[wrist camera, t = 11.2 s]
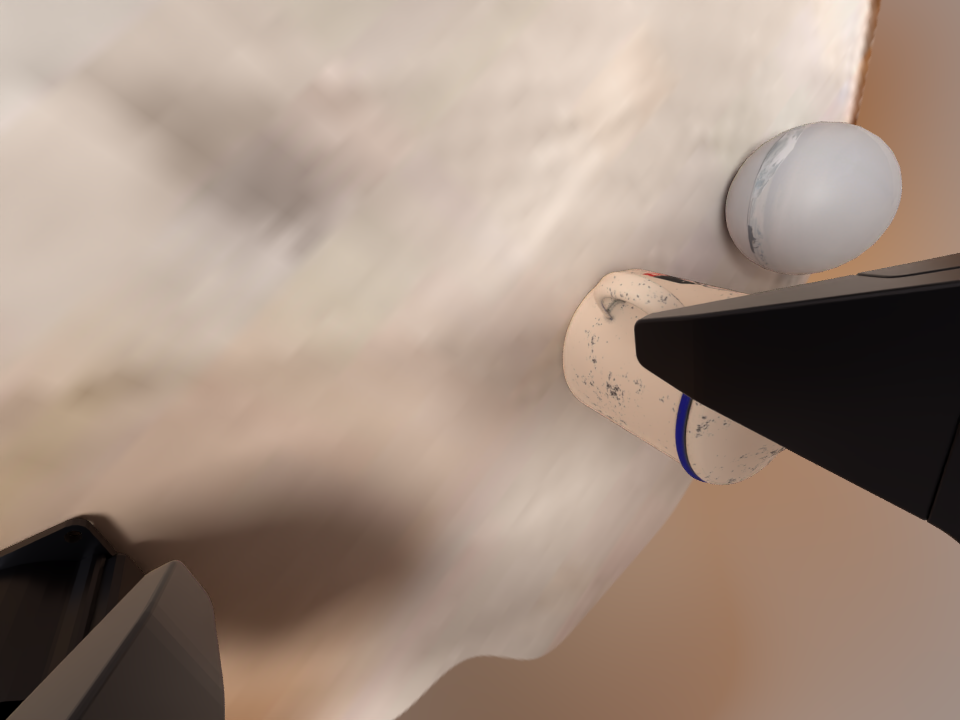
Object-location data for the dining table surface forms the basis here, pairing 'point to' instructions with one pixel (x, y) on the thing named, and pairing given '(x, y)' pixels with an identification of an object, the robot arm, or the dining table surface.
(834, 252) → the bath bomb
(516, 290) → the dining table surface
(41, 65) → the dining table surface
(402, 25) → the dining table surface
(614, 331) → the teacup with lid
